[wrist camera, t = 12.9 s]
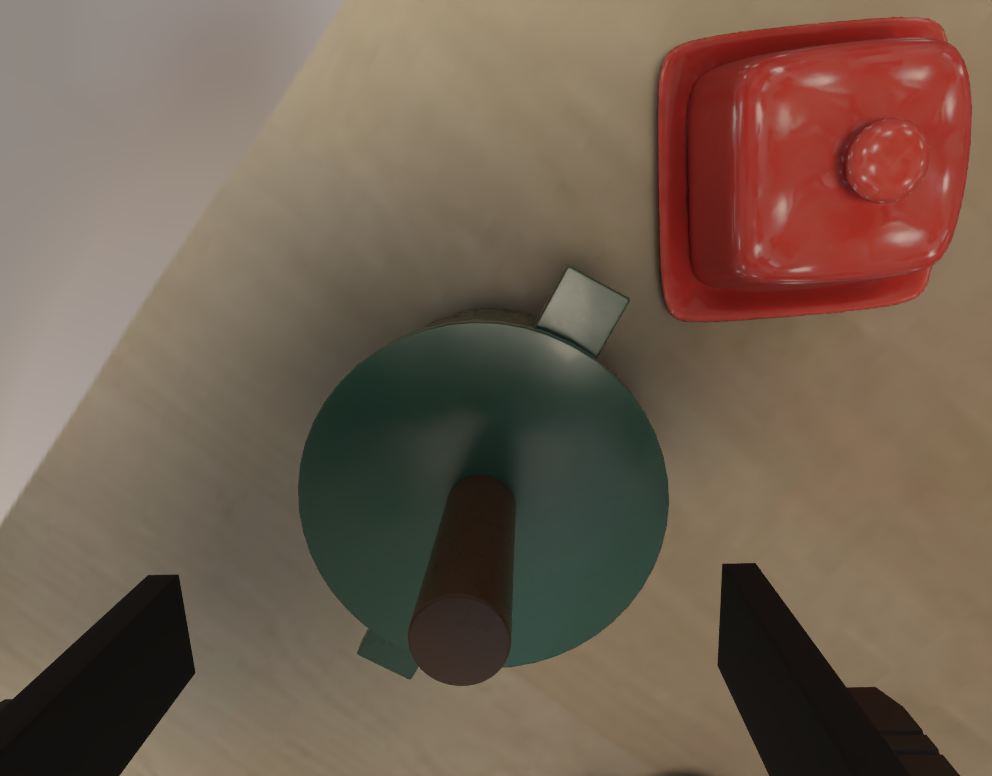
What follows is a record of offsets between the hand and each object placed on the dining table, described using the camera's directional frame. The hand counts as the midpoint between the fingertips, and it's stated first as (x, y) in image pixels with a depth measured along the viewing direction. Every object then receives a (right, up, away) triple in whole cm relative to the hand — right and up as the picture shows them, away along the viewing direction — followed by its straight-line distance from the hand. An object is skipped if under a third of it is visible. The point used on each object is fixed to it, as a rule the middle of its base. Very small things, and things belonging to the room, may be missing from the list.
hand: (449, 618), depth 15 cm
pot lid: (+1, +2, +7) cm, 7 cm away
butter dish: (+14, +15, +12) cm, 24 cm away
